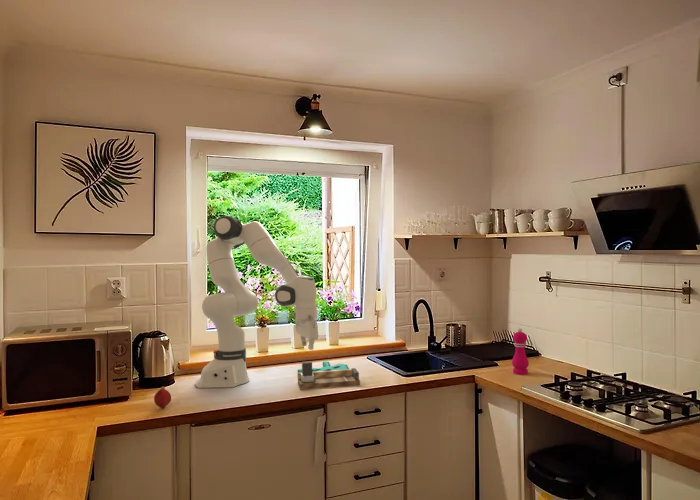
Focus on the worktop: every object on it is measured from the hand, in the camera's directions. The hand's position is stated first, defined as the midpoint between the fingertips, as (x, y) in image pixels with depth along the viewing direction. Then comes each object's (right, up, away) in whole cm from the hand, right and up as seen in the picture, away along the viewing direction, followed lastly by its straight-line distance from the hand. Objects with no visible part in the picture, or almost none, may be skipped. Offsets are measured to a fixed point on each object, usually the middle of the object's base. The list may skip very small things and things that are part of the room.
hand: (307, 347), depth 217 cm
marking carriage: (0, -14, +1) cm, 14 cm away
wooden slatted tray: (+9, -16, +2) cm, 18 cm away
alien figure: (+8, -16, +22) cm, 29 cm away
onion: (-51, -18, -27) cm, 60 cm away
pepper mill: (+94, -14, +15) cm, 96 cm away
